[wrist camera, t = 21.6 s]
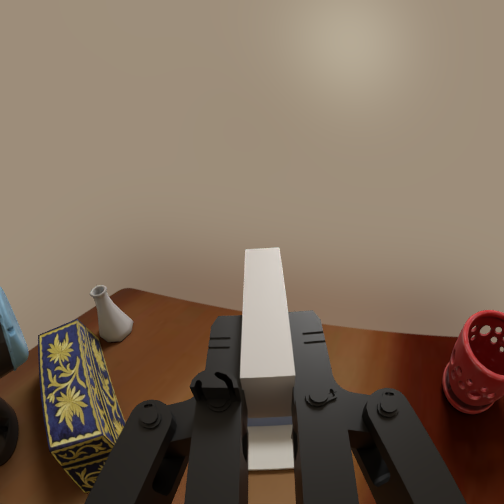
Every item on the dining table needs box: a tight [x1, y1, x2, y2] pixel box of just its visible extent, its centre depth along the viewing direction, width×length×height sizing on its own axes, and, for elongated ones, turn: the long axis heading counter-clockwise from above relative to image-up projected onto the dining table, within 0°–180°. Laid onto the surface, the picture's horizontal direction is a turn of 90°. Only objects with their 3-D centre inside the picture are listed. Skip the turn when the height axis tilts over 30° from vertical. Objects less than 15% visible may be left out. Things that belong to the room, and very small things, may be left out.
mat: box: [247, 425, 294, 470], centre depth 37 cm, size 21×14×1 cm, turn 0°
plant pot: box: [442, 310, 504, 414], centre depth 29 cm, size 13×13×12 cm
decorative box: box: [38, 319, 126, 493], centre depth 34 cm, size 11×30×9 cm, turn 33°
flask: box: [90, 285, 133, 342], centre depth 48 cm, size 7×7×10 cm
